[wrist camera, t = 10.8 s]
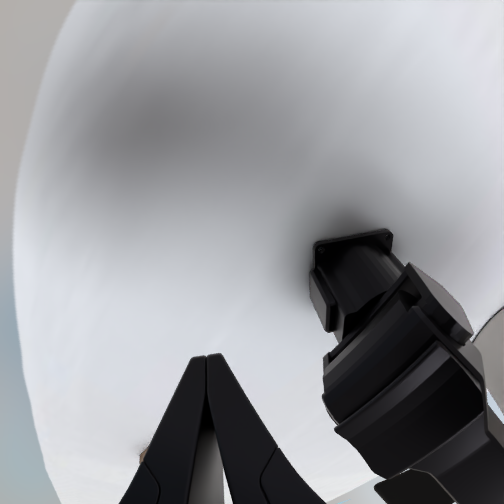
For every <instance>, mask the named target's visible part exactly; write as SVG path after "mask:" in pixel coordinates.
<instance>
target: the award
mask: <svg viewBox="0 0 504 504" xmlns="http://www.w3.org/2000/svg"><path fill="white" fill-rule="evenodd" d="M374 490H375V491H376V492H377V493H378V494H379V496H380V497H381V498H382V499H383V500H384V501H385V502H386V503H387V504H452V503H454V502H455V501H454V500H453V499H452V498H451V497H450V495H449V494H448V493H447V492H446V491H445V490H444V489H443V488H442V487H441V485H440V484H439V483H438V482H437V481H436V480H435V479H434V478H433V477H432V476H431V475H430V474H429V473H427V472H422V471H417V470H413V469H410V470H407V471H405V472H403V473H401V474H398V475H396V476H395V477H393V478H391V479H387V480H385V481H382V482H379V483H377V484H376V485H375V486H374Z"/></svg>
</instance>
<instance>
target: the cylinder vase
mask: <svg viewBox="0 0 504 504" xmlns="http://www.w3.org/2000/svg"><path fill="white" fill-rule="evenodd" d="M473 344H474V346H475V347H476V348H477V349H478V350H479V352H480V353H481V355H482V360H483V367H484V374H485V382H486V388H487V389H488V391H489V392H490V394H491V395H492V397H493V398H494V400H495V402H496V403H497V405H498V406H499V408H500V410H501V411H502V413H503V415H504V309H502V310H501V311H500V312H499V313H497V314H496V315H495V316H494V317H493V318H492V319H491V320H490V321H489V322H488V323H487V325H486V326H485V327H484V328H483V329H482V331H481V332H480V333H479V335H478V336H477V338H476V339H475V341H474V343H473Z"/></svg>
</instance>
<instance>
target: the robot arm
mask: <svg viewBox="0 0 504 504" xmlns="http://www.w3.org/2000/svg"><path fill="white" fill-rule="evenodd" d="M386 235H388V236H387V237H386V238H385V236H386ZM392 241H393V234H392V232H391V231H390V230H388V229H385V230H380V231H374V232H369V233H363V234H358V235H352V236H347V237H341V238H336V239H330V240H324V241H319V242H317V243H315V244H314V246H313V269H312V270H311V271H310V298H311V301H312V303H313V306H314V309H315V310H316V312H317V314H318V316H319V319H320V321H321V323H322V325H323V328H324V330H325V331H326V332H328V333H330V332H334V335H335V337H336V339H337V341H338V343H339V344H338V345H337V346H336V347H335V348H334V349H333V350H332V351H331V352H328V353H327V354H326V355H325V356H324V357H323V371H324V375H323V384H324V393H323V394H322V400H323V403H324V405H325V407H326V410H327V412H328V414H329V416H330V417H331V419H332V420H333V421H334V422H335V423H336V424H337V425H338V426H336V427H335V428H334V431H335V432H336V433H337V434H339V435H340V436H341V437H343V438H344V439H346V440H347V441H348V442H349V443H350V444H351V445H352V446H353V447H355V448H356V449H357V451H358V452H359V453H360V454H361V456H362V457H363V459H364V460H365V461H366V463H367V464H368V466H369V467H370V469H371V470H372V471H373V472H374V473H375V474H377V475H379V476H381V477H383V478H385V479H391V478H393V477H395V476H396V475H398V474H400V473H402V472H403V471H405V470H407V469H413V470H417V471H422V472H427V473H429V474H430V475H431V476H432V477H433V478H434V479H435V480H436V481H437V482H438V483H439V484H440V485H441V487H442V488H443V489H444V490H445V491H446V492H447V493H448V494H449V495H450V497H451V498H452V499H453V500H454V501H455V502H456V503H457V504H504V424H503V423H502V422H501V420H500V419H499V418H498V417H497V415H496V414H495V413H494V412H493V410H492V409H491V408H490V406H489V405H488V403H487V392H486V382H485V374H484V367H483V360H482V355H481V353H480V352H479V350H478V349H477V348H476V347H475V346H474V344H473V343H472V342H471V341H470V340H469V339H470V338H471V337H472V336H473V334H474V332H473V329H472V327H471V325H470V323H469V321H468V318H467V316H466V314H465V312H464V310H463V308H462V306H461V305H460V304H459V303H458V302H457V301H456V300H455V299H454V298H453V296H452V295H451V294H450V293H449V292H448V291H447V290H446V289H445V288H444V287H443V286H442V285H440V284H439V283H438V282H436V281H435V280H434V279H432V278H431V277H430V276H428V275H427V274H426V273H424V272H423V271H421V270H420V269H419V268H417V267H416V266H414V265H413V264H412V263H410V262H409V263H408V264H407V265H406V266H405V267H404V265H403V264H402V263H401V262H400V261H399V260H398V259H397V258H396V256H395V255H394V254H393V253H392V252H391V249H392ZM320 247H323V248H322V249H321V250H318V249H319V248H320ZM223 468H224V472H225V476H226V479H227V483H228V487H229V491H230V494H231V498H232V501H233V504H326V503H325V502H324V501H323V500H322V499H321V498H320V497H319V496H318V495H317V494H316V493H315V492H314V491H313V490H312V489H311V488H310V487H309V485H308V484H307V483H306V482H305V481H304V480H303V479H302V478H301V477H300V475H299V474H298V473H297V472H296V470H295V469H294V468H293V466H292V465H291V464H290V462H289V461H288V460H287V458H286V457H285V455H284V454H283V452H282V451H281V449H280V448H278V445H277V443H276V442H275V440H274V439H273V437H272V436H271V434H270V433H269V431H268V430H267V428H266V426H265V425H264V423H263V422H262V420H261V419H260V417H259V415H258V414H257V412H256V411H255V409H254V407H253V406H252V404H251V403H250V401H249V399H248V398H247V396H246V394H245V393H244V391H243V389H242V388H241V386H240V384H239V383H238V381H237V379H236V378H235V376H234V374H233V372H232V371H231V369H230V367H229V366H228V364H227V362H226V360H225V359H224V357H223V355H222V354H221V353H216V354H210V355H208V356H207V357H206V356H204V355H203V356H196V357H192V358H191V359H190V361H189V363H188V365H187V368H186V370H185V372H184V374H183V376H182V378H181V380H180V382H179V384H178V386H177V388H176V390H175V392H174V395H173V397H172V399H171V401H170V403H169V405H168V407H167V409H166V411H165V413H164V415H163V417H162V420H161V422H160V424H159V426H158V428H157V430H156V432H155V434H154V436H153V438H152V441H151V443H150V445H149V447H148V449H147V451H146V453H145V455H144V457H143V461H142V462H141V463H140V466H139V468H138V470H137V472H136V474H135V476H134V478H133V480H132V482H131V484H130V486H129V488H128V489H127V491H126V493H125V494H124V496H123V497H122V499H121V501H120V502H119V504H224V485H223Z"/></svg>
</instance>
